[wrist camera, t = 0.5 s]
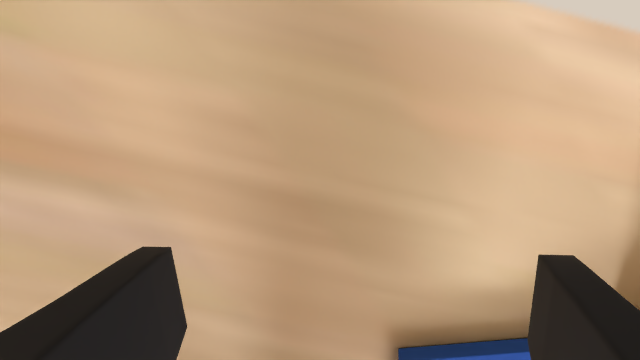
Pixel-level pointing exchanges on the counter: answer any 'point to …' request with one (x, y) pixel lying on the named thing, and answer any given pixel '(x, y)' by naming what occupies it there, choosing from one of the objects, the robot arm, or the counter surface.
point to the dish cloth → (470, 351)
